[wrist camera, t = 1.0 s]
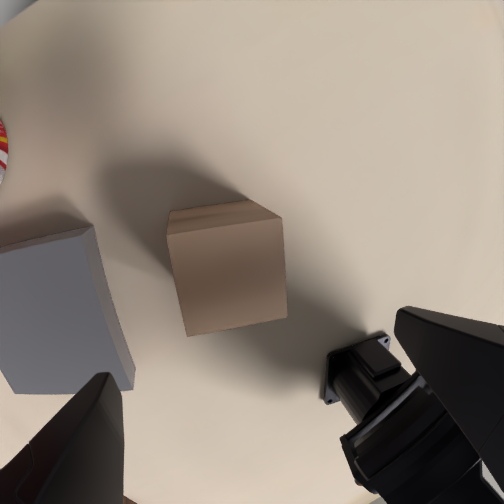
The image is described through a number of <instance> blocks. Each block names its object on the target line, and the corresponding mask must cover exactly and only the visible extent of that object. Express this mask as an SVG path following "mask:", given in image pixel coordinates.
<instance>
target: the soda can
mask: <svg viewBox="0 0 504 504" xmlns="http://www.w3.org/2000/svg"><path fill="white" fill-rule="evenodd" d="M7 159H8V141H7V135H6V131H5V128H4V126H3V124H2V122H1V120H0V185H1V183H2V180H3V177H4V174H5V170H6V166H7Z"/></svg>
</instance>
